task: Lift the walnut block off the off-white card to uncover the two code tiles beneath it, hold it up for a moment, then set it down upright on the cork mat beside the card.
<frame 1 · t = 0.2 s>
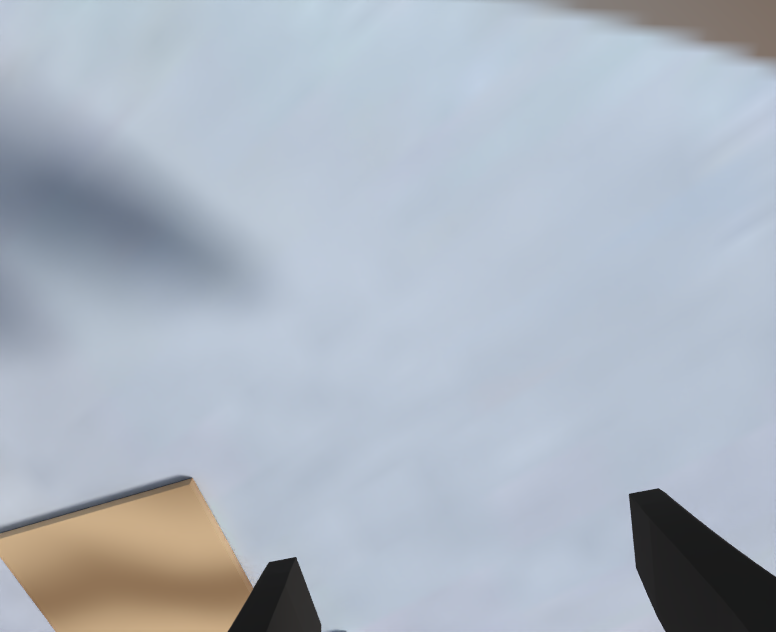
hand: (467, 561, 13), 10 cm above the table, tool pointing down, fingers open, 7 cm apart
cork mat: (142, 585, 26), on the table
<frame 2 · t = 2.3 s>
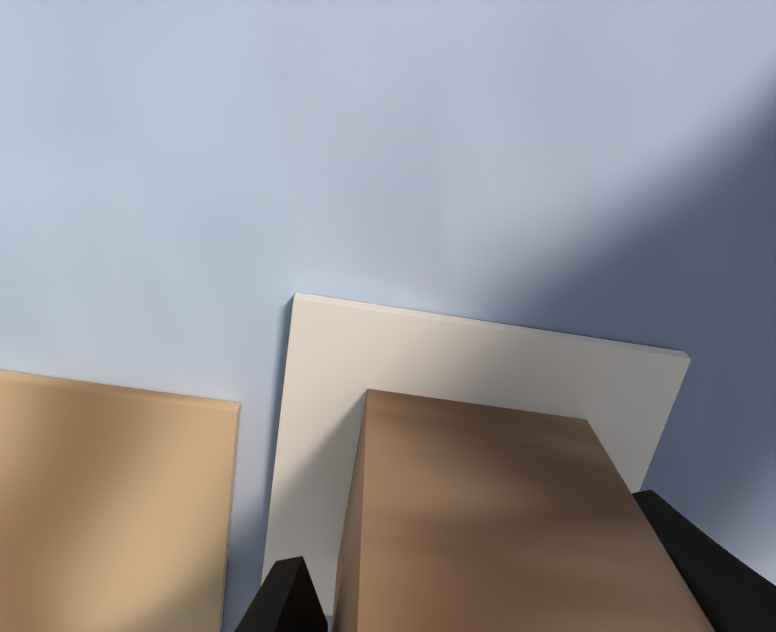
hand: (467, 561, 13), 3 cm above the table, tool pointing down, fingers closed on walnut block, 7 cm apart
walnut block: (455, 494, 15), resting on code card, touching gripper
code card: (453, 484, 15), on the table
cork mat: (54, 528, 15), on the table
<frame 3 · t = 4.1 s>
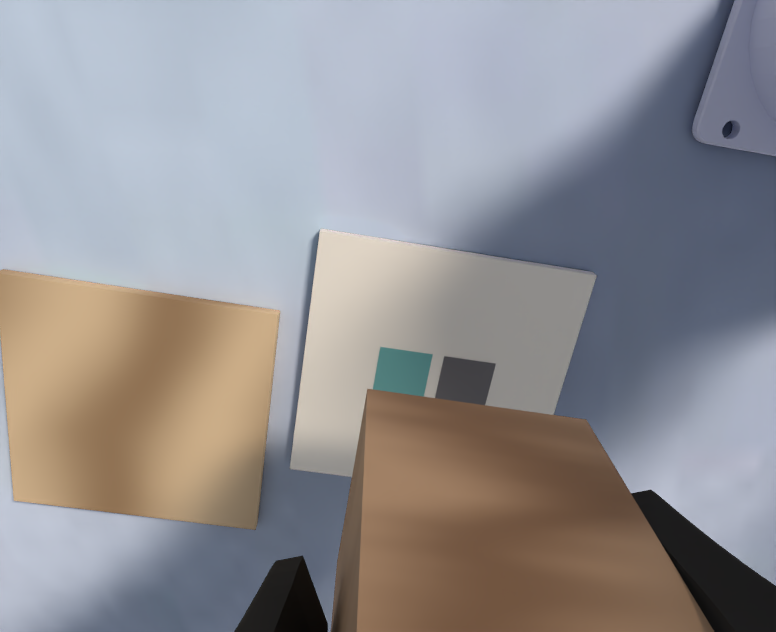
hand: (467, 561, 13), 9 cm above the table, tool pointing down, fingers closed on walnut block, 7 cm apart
walnut block: (455, 494, 15), point 7 cm above the table, touching gripper
code card: (432, 373, 21), on the table
cork mat: (142, 407, 21), on the table
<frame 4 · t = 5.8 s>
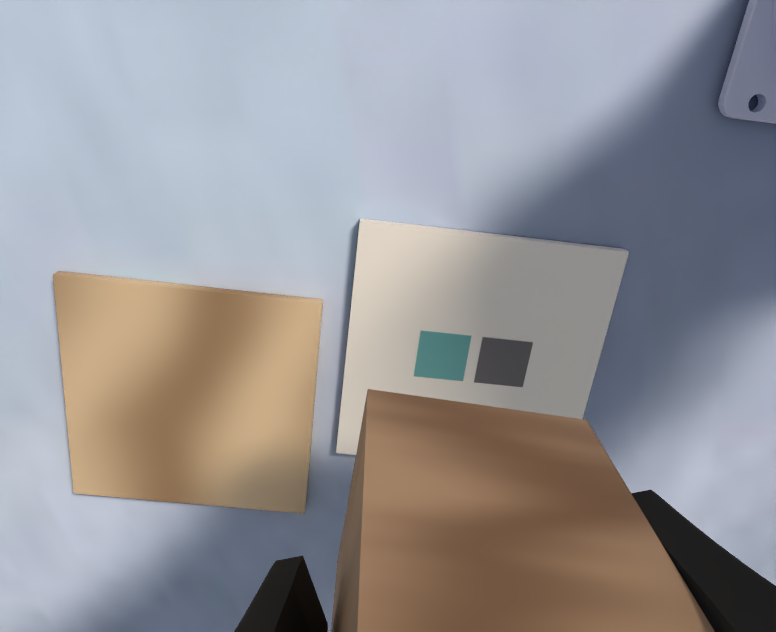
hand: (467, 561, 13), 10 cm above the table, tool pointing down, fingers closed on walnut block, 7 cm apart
walnut block: (455, 495, 15), point 7 cm above the table, touching gripper
code card: (471, 354, 21), on the table
cork mat: (192, 399, 22), on the table
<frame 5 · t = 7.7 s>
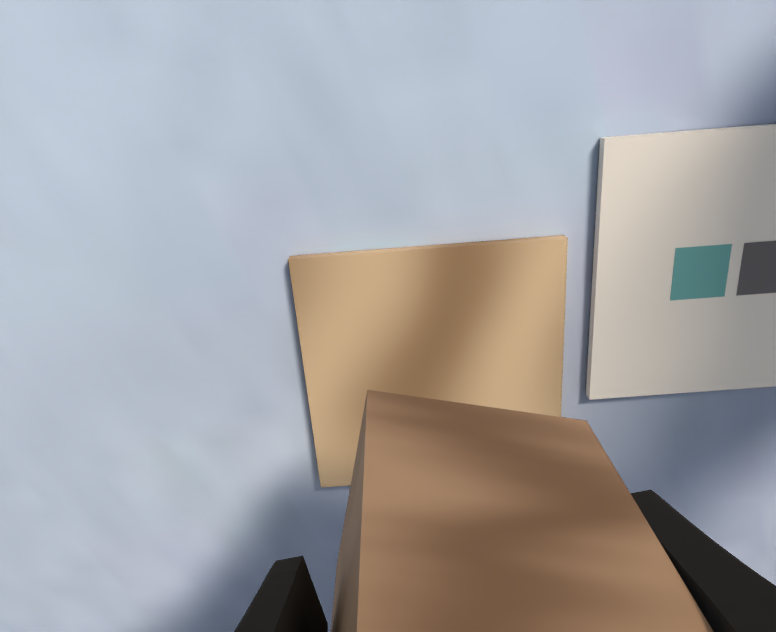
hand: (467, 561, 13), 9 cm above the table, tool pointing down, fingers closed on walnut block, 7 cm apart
walnut block: (455, 495, 15), point 7 cm above the table, touching gripper
code card: (727, 266, 20), on the table
cork mat: (432, 368, 21), on the table
when the fingers open (4 cm above the table, at t = 9.5 s): walnut block drops 1 cm, resting on cork mat.
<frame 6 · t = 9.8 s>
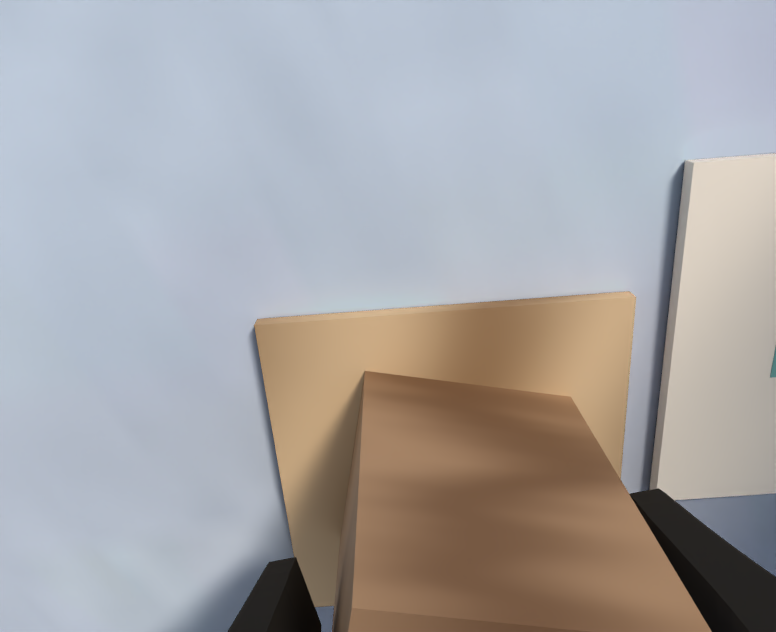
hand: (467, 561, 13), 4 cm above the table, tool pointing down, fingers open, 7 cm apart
walnut block: (449, 470, 16), resting on cork mat
cork mat: (449, 460, 16), on the table
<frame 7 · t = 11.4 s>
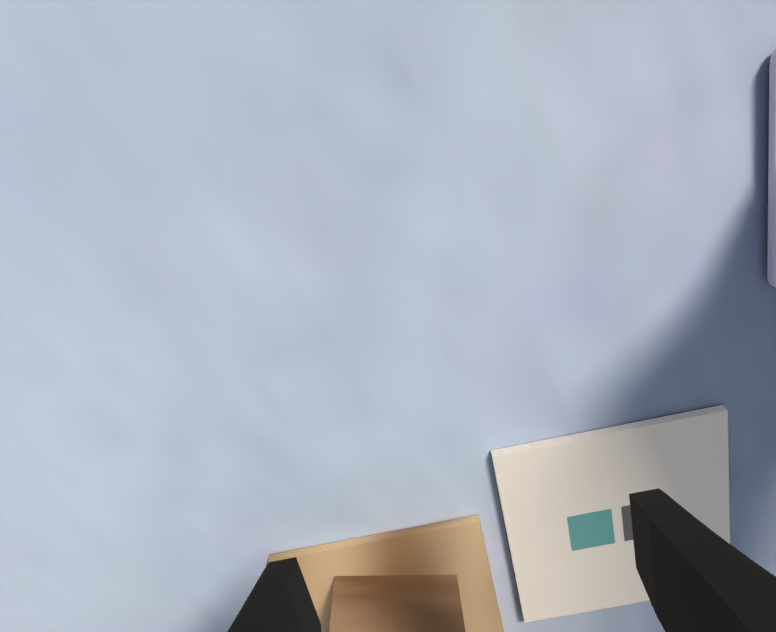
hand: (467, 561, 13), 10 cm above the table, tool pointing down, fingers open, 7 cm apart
walnut block: (395, 620, 26), resting on cork mat
code card: (614, 518, 25), on the table
cork mat: (396, 612, 26), on the table
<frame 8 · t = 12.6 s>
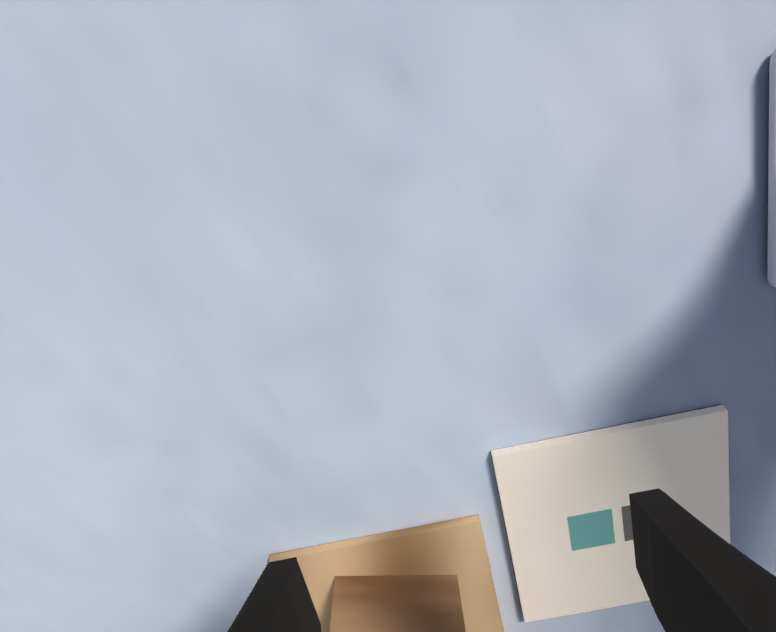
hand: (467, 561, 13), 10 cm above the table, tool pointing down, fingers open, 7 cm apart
walnut block: (395, 620, 26), resting on cork mat
code card: (614, 518, 25), on the table
cork mat: (396, 612, 26), on the table
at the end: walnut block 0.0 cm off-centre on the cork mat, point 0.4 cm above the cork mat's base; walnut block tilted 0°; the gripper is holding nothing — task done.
